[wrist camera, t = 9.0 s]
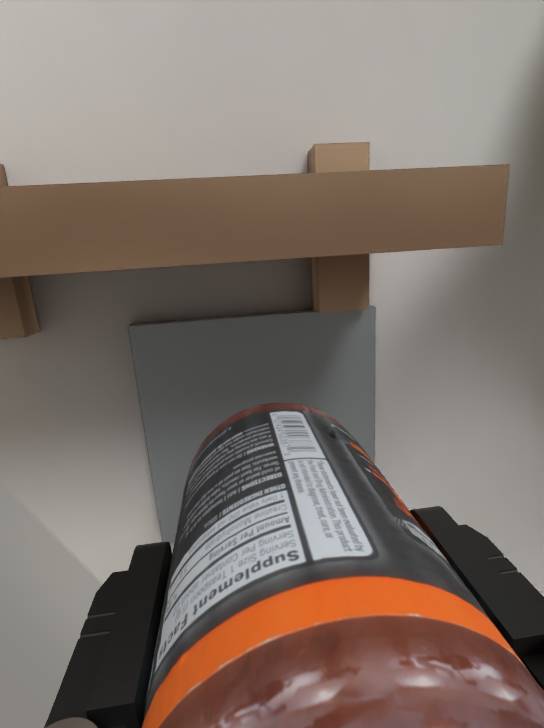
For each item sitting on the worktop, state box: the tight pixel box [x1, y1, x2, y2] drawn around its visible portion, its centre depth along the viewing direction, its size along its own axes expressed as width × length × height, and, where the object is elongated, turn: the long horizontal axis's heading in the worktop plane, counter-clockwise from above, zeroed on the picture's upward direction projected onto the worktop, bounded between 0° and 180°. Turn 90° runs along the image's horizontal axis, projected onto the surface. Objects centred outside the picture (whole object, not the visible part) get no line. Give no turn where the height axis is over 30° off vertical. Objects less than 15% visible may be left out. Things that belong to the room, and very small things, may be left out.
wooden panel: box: [0, 142, 509, 339], centre depth 11 cm, size 6×16×8 cm, turn 94°
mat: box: [128, 305, 376, 542], centre depth 17 cm, size 10×10×1 cm
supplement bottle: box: [142, 403, 544, 728], centre depth 8 cm, size 6×6×11 cm
